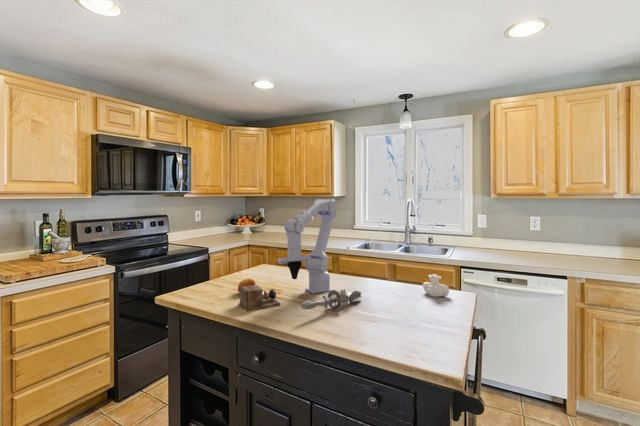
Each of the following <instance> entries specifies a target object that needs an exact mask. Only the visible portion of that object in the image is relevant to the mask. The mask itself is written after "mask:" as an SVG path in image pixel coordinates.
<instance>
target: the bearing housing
mask: <svg viewBox="0 0 640 426" xmlns="http://www.w3.org/2000/svg"><path fill="white" fill-rule="evenodd" d="M263 293H264V290H263V288H262V287H261V286H259V285H258V284H255V285H250V286H243V287H240V292H239V299H240V300H239V305H240V306H241V307H242V308H243V309H244V310H245V312H252V311H258V310H262V309H263V310H264V309H267V308H269V309H270V308H273V307H277V306H281V303H280V301H278V300H276V298H275V299H271V298H269V299H267V300H265V299H263Z"/></svg>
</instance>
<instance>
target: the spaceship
mask: <svg viewBox="0 0 640 426" xmlns="http://www.w3.org/2000/svg"><path fill="white" fill-rule="evenodd" d="M362 297H363V296H362V292H361V291H358V290H354V291H352V292H351V291H350V292H349V291H348V292H347V293H346V289H340V290H339V291H338V290H336V289H330V291H328V293H327V295H322V298H319V299H318V300H313V299H311V300H306V301H303V302H302V303H301V308H302V309H303V310H312V309H314V308H316V307H324V308H325V309H327V308H330V309H331V310H334V311H339V310H340V309H341V308H342V307H343V308H345V307H349V302H350V303H352V302H354V301H356V302H358V301H359V300H361V299H362Z"/></svg>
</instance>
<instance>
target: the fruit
mask: <svg viewBox="0 0 640 426" xmlns="http://www.w3.org/2000/svg"><path fill="white" fill-rule="evenodd" d="M250 285H256V281H255V280H254V279H253V278H250V277H249V278H245V279H242V280H240V281H239V284H238V287H237V290H238V293H240V287H243V286H250Z"/></svg>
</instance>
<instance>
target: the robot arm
mask: <svg viewBox="0 0 640 426" xmlns="http://www.w3.org/2000/svg"><path fill="white" fill-rule="evenodd" d="M337 210H338V204H337V201H336V200H335V199H334V198H332V199H324V198H322V199H321V198H317V199H316V200H315V201H313V205H311V206H310V207H309V208H308V209H307V210H301V211H299V214H297V215H295V216H293V218H292V219H288V220H287V221H286V222H285V224H284V230H285V233H286V237H287V256H286V257H283V258H282V257H281V258H277V264H279V265H283V264H286V265H287V267H288V269H289V271H290V275H291V279H293V280H297V279H298V275H299V271H300V269H301V267H302V265H303V262H305V263H304V266H305V269H306V270H307V272H308V287H306V288H305V290H306V291H308V292H310V293H311V294H314V295H315V294H318V293H319V294H320V293H326V292H330V291H331V289H330V285H331V284H330V282H331V281H330V279H331V278H330V277H331V276H330V274H329V272H328V267H329V259H330V258H329V257H328V254H326V251H327V245H328V242H329V239H330V235H331V230H332V227H333V223H334V219H335V218H336V215H337ZM316 215H318V217H319V218H321V224H320V228H319V231H318V236H317V238H316V242H315V246H314V249H313V250H312V251H311V252H309V253H308V255H302V233H303V232H304V230H305V228H306V226H307V225H308V224H309V223H310V222H311V221H312V219H313V217H314V216H316Z"/></svg>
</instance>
